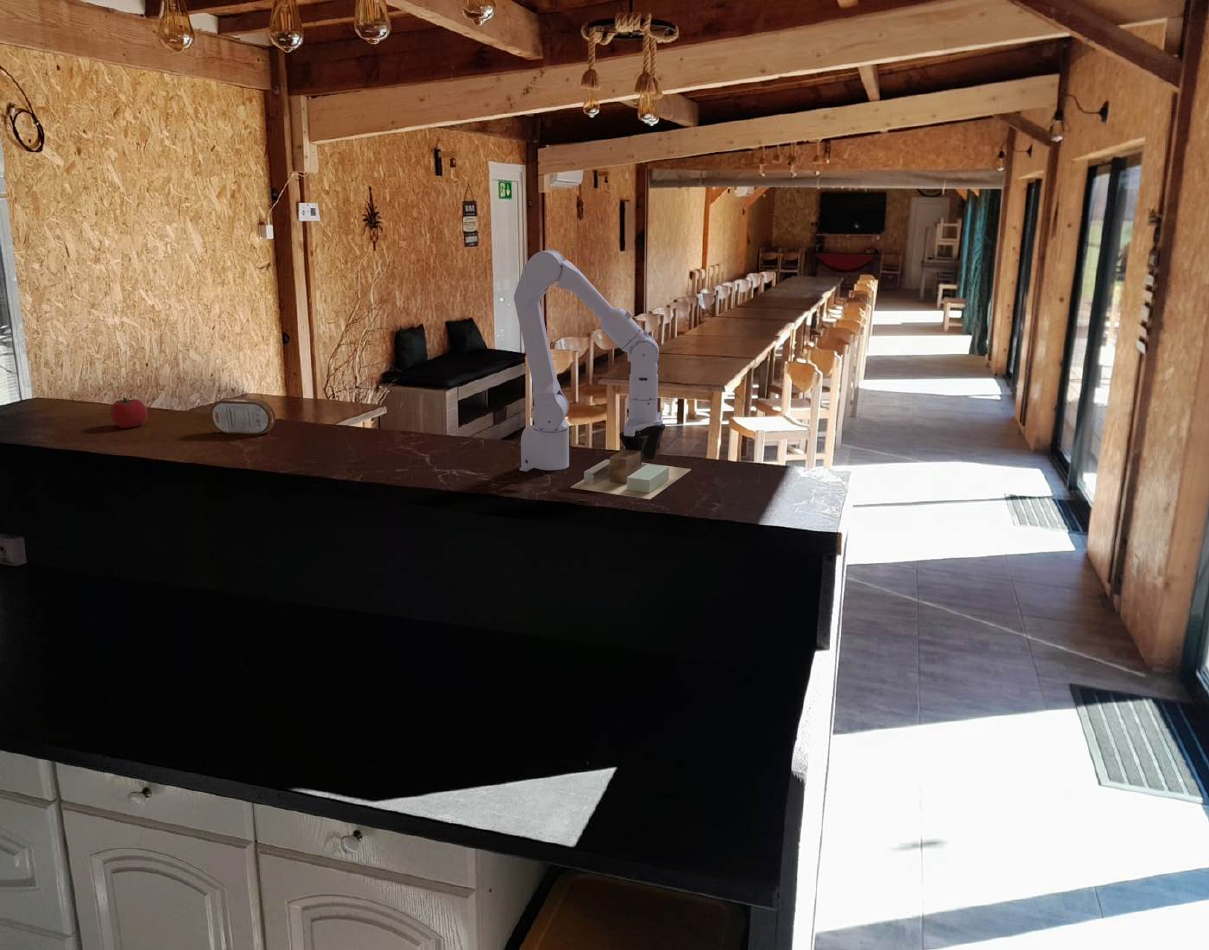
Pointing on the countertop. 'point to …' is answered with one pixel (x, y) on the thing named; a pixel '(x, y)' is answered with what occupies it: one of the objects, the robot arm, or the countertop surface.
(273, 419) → the tin
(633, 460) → the block
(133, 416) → the tomato
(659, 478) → the block
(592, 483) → the block
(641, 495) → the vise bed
